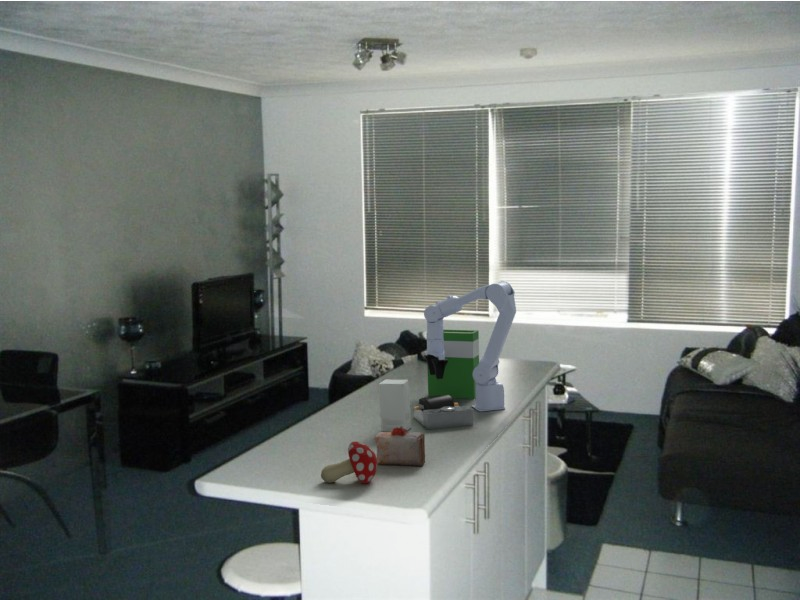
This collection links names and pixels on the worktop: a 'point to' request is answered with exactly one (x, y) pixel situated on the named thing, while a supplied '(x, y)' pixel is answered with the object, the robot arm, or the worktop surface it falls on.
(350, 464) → the decorative mushroom
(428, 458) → the worktop surface
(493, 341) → the robot arm
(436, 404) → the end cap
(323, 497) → the worktop surface
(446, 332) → the green box
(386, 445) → the food item
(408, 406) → the skincare box
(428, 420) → the motor housing with clip cradle
